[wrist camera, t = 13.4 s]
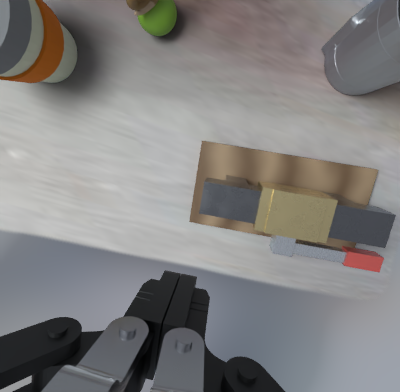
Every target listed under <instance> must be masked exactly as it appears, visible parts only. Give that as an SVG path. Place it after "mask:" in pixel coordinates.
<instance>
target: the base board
mask: <svg viewBox="0 0 400 392" xmlns="http://www.w3.org/2000/svg"><path fill="white" fill-rule="evenodd" d="M377 173H378V170H376V169H371V168H365V167H358V166H352V165H346V164H340V163H334V162H328V161H322V160H316V159H310V158H304V157H298V156H292V155H285V154H279V153H273V152H267V151H261V150H255V149H249V148H243V147H237V146H231V145H225V144H219V143H212V142H206V141H202V145H201V152H200V158H199V164H198V171H197V177H196V183H195V190H194V196H193V202H192V208H191V215H190V221H189V222H194V223H199V224H204V225H210V226H215V227H220V228H226V229H231V230H236V231H242V232H247V233H252V234H258V235H263V236H268V237H271V236H272V234H267V233H264V232H262V231H256V230H254V228H253V225H252V223H248V222H242V221H237V220H231V219H226V218H221V217H215V216H210V215H204V214H199V211H200V204H201V198H202V192H203V186H204V181H205V180H206V178H207V177H209V178H214V179H220V180H225V179H226V175H229V176H235V177H240V178H246V181H247V183H248V184H249V185H255V186H257V185H258V181H261V182H269V183H275V184H281V185H287V186H292V187H298V188H304V189H310V190H314V191H322V192H327V193H333V194H339V195H341V196H343V197H345V198H347V199H349V200H351V201H353V202H355V203H358V204H364V205H368V202H369V199H370V196H371V192H372V189H373V186H374V183H375V179H376V176H377ZM296 240H299V239H296ZM299 241H304V240H299ZM305 242H310V241H305ZM310 243H315V242H310ZM316 244H321V245H327V246H332V247H338V248H342V246H346V247H351V248H355V245H356V242H351V241H345V240H340V239H334V238H329V237H328V238H327V242H326V243H321V242H317V243H316Z"/></svg>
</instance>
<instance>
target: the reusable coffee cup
mask: <svg viewBox="0 0 400 392" xmlns="http://www.w3.org/2000/svg"><path fill="white" fill-rule="evenodd" d="M76 62H77V47H76V44H75V41H74V39H73V37H72V35H71V34H70V32H69V31H68V30H67V29H66V28H65V27H64V26H63V25H62V24H61V23H60V22H59V21H58V19H57V17H56V15H55V14H54V13H53V11H52V10H51V9H50V8H49V7H48V6H47V5H46V4H45V3H44V2H43V1H42V0H0V79H1V80H9V81H17V82H26V83H36V82H40V81H42V82H49V83H57V82H60V81H63V80H65V79H66V78H67V77H68V76H70V75H71V73H72V72H73V70H74V68H75V66H76Z"/></svg>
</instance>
